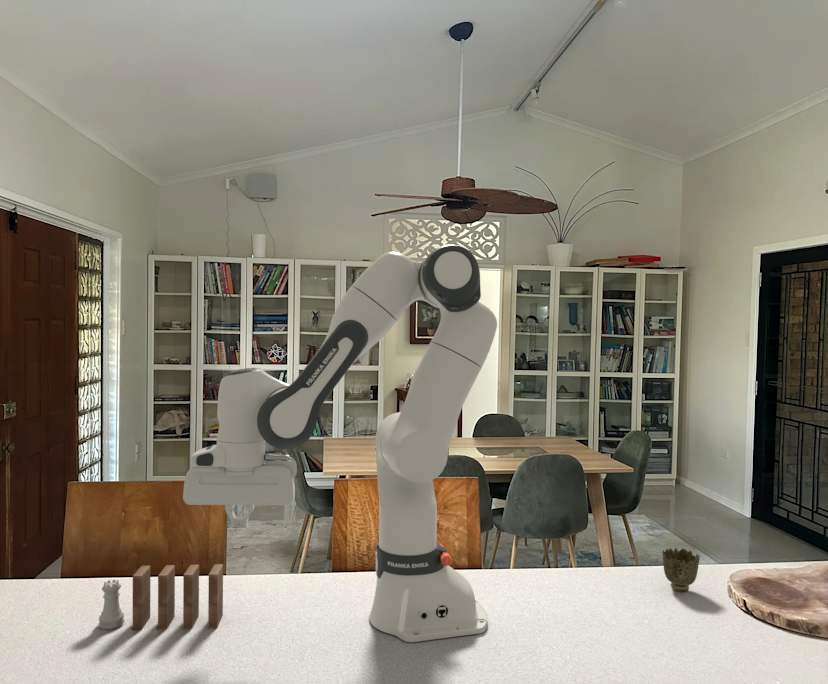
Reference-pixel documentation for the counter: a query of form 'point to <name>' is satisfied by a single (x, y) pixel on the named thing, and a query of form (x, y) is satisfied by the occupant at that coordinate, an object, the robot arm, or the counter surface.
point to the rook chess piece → (111, 607)
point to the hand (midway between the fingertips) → (239, 527)
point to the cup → (680, 568)
